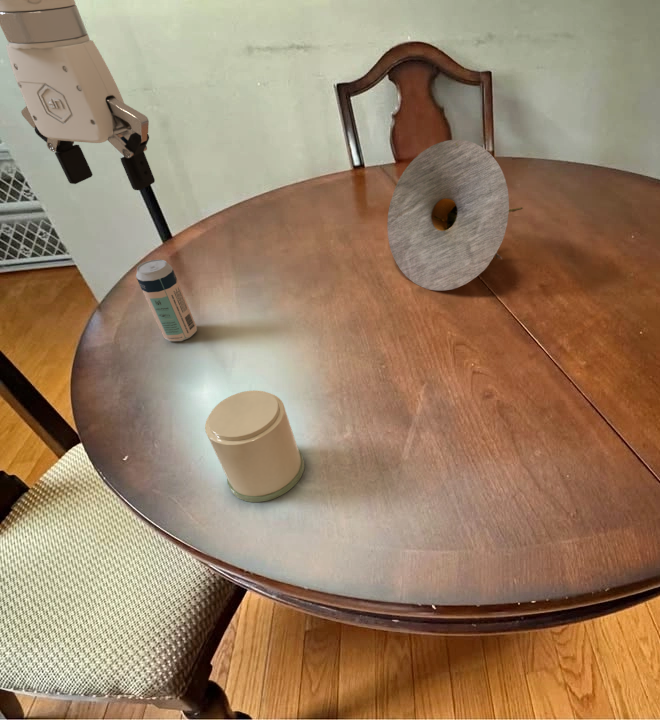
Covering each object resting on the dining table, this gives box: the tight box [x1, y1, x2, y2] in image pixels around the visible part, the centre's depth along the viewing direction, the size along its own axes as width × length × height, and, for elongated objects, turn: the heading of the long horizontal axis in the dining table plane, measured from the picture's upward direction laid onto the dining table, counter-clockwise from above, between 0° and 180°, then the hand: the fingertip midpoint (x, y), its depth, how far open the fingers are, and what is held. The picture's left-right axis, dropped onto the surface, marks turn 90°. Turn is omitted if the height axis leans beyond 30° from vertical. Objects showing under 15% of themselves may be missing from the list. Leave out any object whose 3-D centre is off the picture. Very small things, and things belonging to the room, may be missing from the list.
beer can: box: [135, 258, 198, 342], centre depth 82 cm, size 5×5×12 cm
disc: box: [387, 139, 524, 292], centre depth 98 cm, size 25×18×25 cm
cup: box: [204, 389, 305, 503], centre depth 61 cm, size 8×8×10 cm
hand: (112, 183), depth 71 cm, fingers open, 9 cm apart
